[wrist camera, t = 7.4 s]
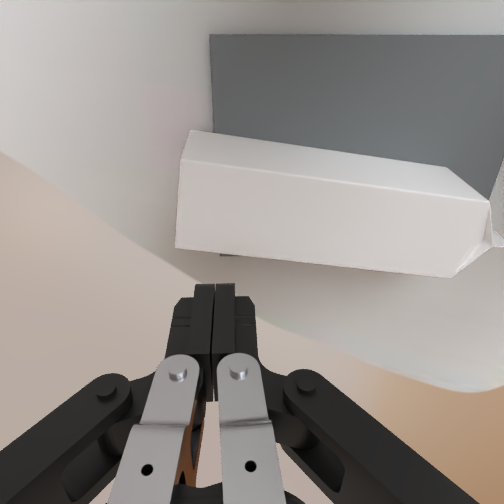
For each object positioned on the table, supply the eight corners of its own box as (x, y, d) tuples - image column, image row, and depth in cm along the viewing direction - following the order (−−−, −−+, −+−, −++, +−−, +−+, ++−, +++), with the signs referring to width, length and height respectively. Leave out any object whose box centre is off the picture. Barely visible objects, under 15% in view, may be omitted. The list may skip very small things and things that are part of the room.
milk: (178, 158, 22) (540, 206, 24) (189, 128, 27) (487, 170, 30) (173, 250, 25) (493, 285, 28) (183, 208, 30) (453, 240, 33)
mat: (209, 34, 24) (209, 35, 24) (541, 35, 25) (547, 35, 25) (220, 253, 33) (219, 256, 33) (467, 248, 34) (469, 251, 33)
